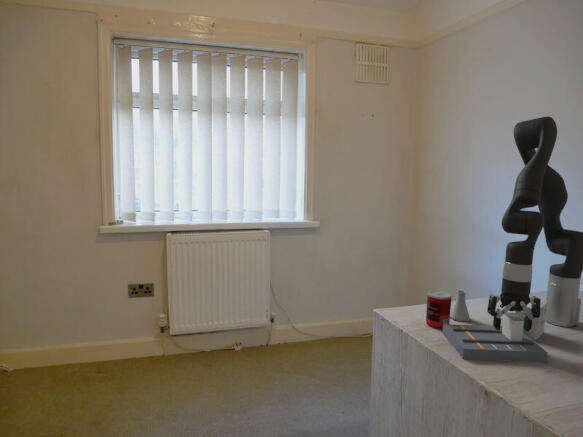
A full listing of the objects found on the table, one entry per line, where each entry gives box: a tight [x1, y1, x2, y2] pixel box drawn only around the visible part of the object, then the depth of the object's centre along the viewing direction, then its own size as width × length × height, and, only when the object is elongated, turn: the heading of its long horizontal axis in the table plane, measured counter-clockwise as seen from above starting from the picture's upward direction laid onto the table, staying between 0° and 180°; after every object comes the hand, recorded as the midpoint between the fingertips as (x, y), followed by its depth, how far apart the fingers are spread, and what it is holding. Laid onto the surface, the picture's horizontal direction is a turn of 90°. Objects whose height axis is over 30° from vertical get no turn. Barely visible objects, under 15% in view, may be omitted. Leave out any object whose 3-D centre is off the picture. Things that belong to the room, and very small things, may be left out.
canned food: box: [425, 290, 452, 330], centre depth 138 cm, size 8×8×11 cm
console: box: [441, 323, 548, 364], centre depth 122 cm, size 23×18×4 cm
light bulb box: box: [514, 300, 547, 342], centre depth 131 cm, size 11×7×11 cm, turn 135°
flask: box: [450, 290, 471, 322], centre depth 144 cm, size 7×7×10 cm
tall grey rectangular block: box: [502, 311, 525, 341], centre depth 121 cm, size 3×6×7 cm, turn 177°
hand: (511, 329), depth 121 cm, fingers open, 8 cm apart
